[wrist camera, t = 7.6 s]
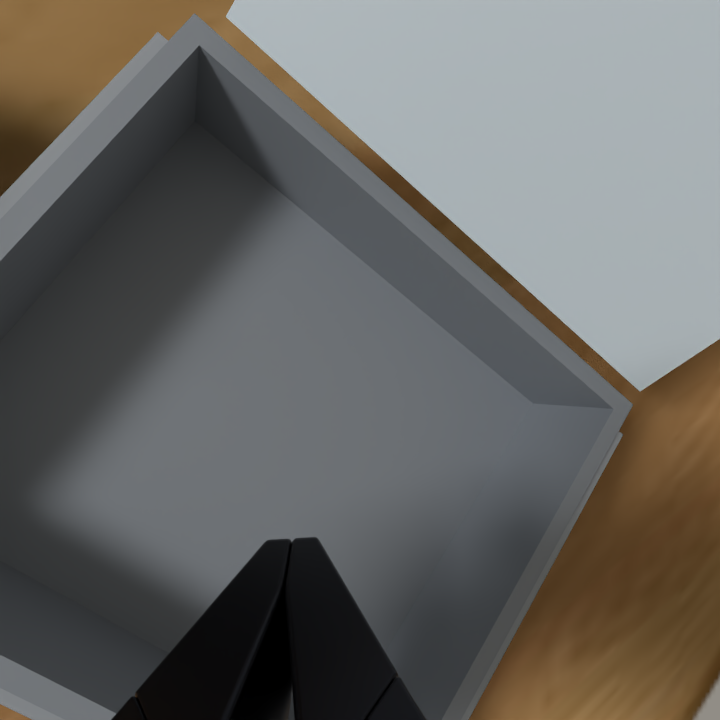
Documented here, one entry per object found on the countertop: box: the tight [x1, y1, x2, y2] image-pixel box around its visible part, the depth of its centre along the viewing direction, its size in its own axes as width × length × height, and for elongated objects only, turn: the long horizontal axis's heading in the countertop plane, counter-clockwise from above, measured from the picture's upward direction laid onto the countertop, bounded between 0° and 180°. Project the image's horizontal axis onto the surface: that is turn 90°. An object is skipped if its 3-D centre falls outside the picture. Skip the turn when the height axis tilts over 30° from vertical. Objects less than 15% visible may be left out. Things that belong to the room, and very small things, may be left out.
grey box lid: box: [226, 0, 720, 391], centre depth 13 cm, size 1×16×10 cm
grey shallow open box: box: [0, 13, 633, 720], centre depth 17 cm, size 16×19×5 cm
